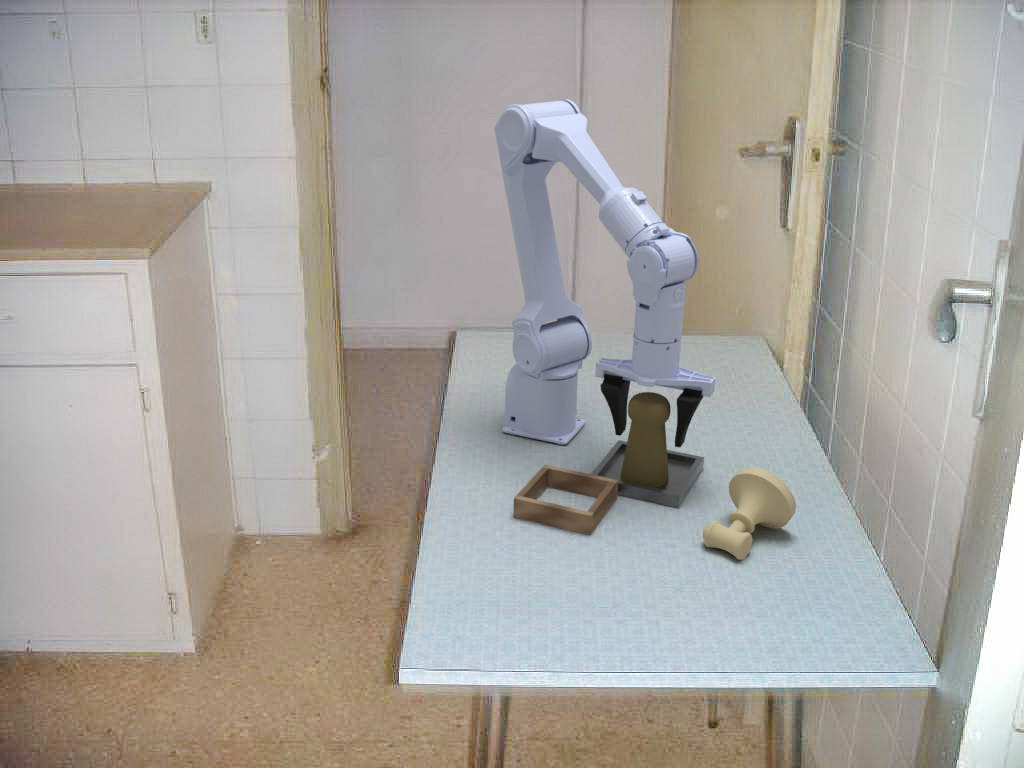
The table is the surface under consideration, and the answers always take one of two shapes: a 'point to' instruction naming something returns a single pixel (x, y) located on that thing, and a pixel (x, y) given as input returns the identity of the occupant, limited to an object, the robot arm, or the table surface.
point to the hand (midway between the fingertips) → (649, 438)
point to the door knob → (751, 510)
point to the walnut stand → (563, 515)
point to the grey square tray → (670, 494)
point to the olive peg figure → (647, 441)
